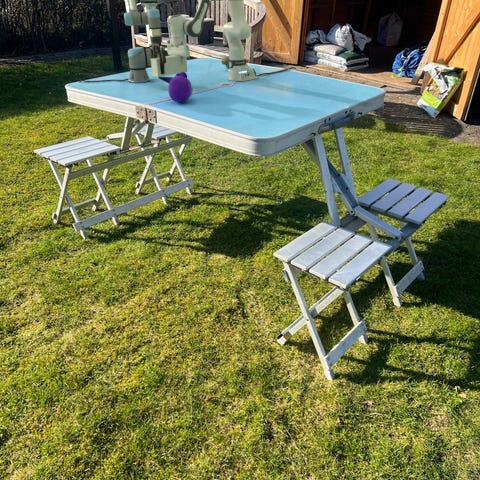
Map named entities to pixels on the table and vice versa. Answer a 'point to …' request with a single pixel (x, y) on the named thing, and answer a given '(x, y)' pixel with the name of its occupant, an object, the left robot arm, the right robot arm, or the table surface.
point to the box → (168, 66)
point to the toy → (178, 87)
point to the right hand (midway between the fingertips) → (179, 63)
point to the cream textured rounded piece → (226, 62)
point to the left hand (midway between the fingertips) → (159, 73)
